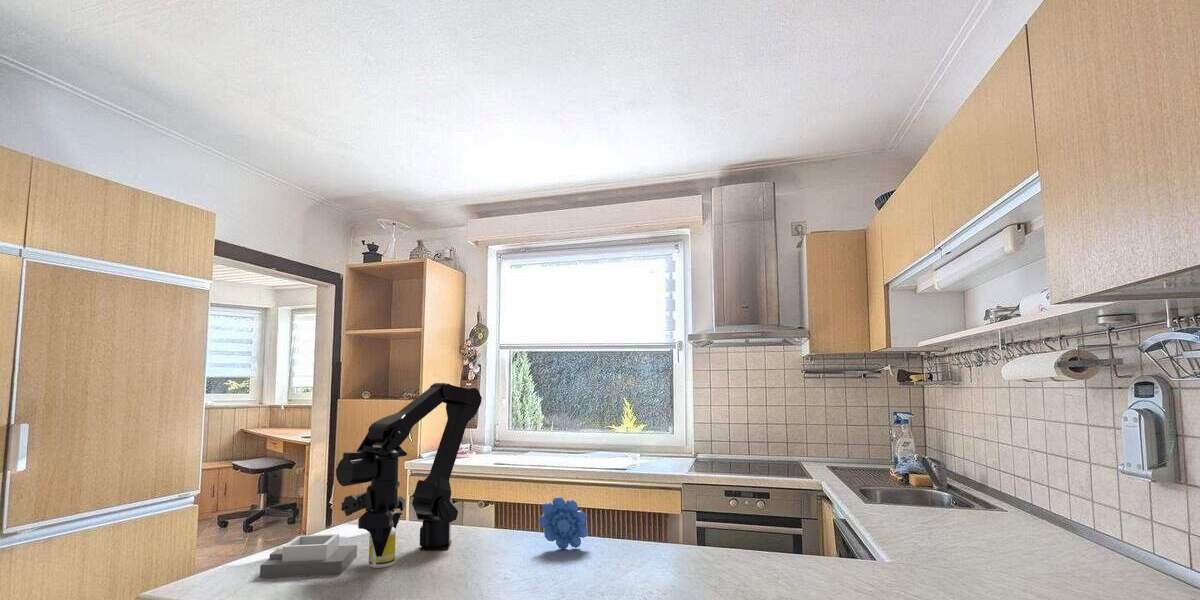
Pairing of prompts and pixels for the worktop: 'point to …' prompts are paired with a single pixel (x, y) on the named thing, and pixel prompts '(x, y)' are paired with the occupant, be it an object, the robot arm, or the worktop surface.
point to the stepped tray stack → (309, 557)
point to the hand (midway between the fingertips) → (382, 552)
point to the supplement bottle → (387, 555)
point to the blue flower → (563, 523)
